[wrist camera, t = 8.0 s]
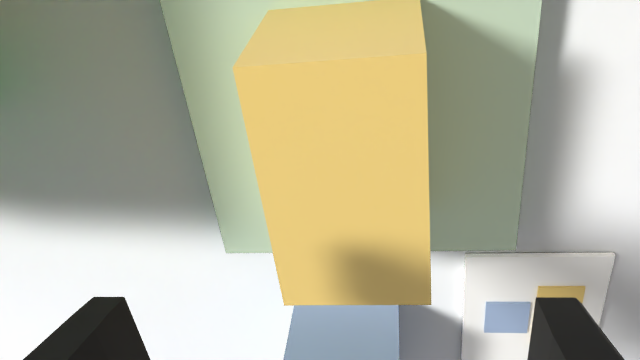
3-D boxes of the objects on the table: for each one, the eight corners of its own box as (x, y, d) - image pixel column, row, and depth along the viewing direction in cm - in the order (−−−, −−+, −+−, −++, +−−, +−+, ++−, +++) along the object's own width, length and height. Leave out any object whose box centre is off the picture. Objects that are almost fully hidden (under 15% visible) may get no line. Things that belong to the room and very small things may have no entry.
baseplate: (511, 231, 19) (516, 250, 19) (232, 235, 21) (226, 253, 20) (541, -83, 14) (550, -76, 13) (162, -46, 15) (149, -37, 15)
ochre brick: (424, 214, 18) (431, 304, 15) (303, 217, 19) (284, 305, 15) (419, -4, 14) (426, 53, 11) (268, 9, 15) (232, 67, 12)
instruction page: (587, 365, 23) (589, 371, 22) (460, 362, 23) (461, 368, 23) (613, 252, 19) (616, 258, 19) (465, 253, 20) (466, 259, 20)
